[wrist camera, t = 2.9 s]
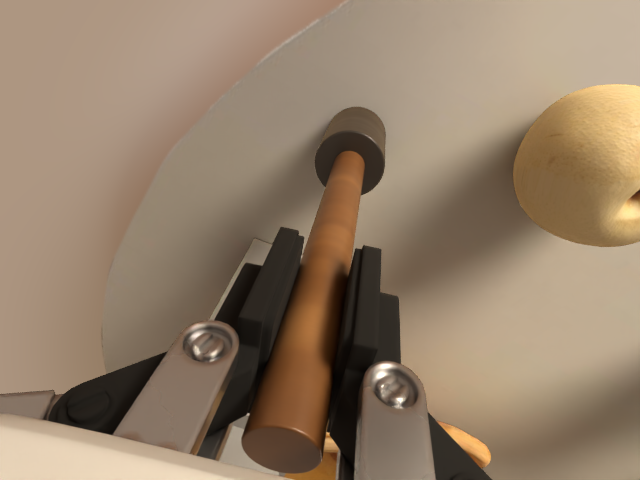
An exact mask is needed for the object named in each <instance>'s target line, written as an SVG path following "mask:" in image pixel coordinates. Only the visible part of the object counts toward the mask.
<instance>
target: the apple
mask: <svg viewBox="0 0 640 480" xmlns="http://www.w3.org/2000/svg"><path fill="white" fill-rule="evenodd" d="M513 183H514V189H515V192H516V195H517V198H518V201H519V203H520V205H521V206H522V208H523V210H524V211H525V212H526V214H527V215H528V216H529V217H530V218H531V219H532V220H533V221H534V222H535V223H536V224H537V225H539V226H540V227H541V228H543V229H544V230H546V231H548V232H549V233H551V234H553V235H555V236H558V237H560V238H563V239H566V240H568V241H572V242H575V243H580V244H584V245H591V246H599V247H615V246H623V245H628V244H633V243H636V242H639V241H640V86H634V85H620V84H613V85H600V86H593V87H588V88H584V89H581V90H578V91H576V92H573V93H571V94H568V95H566V96H565V97H563V98H561V99H559V100H558V101H556V102H555V103H554V104H552V105H551V106H550V107H549V108H548V109H546V110H545V111H544V112H543V113H542V114H541V115H540V116H539V118H538V119H537V120H536V121H535V122H534V124H533V125H532V126H531V128H530V129H529V131H528V132H527V134H526V135H525V137H524V139H523V141H522V143H521V145H520V147H519V149H518V152H517V155H516V158H515V162H514V168H513Z"/></svg>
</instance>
